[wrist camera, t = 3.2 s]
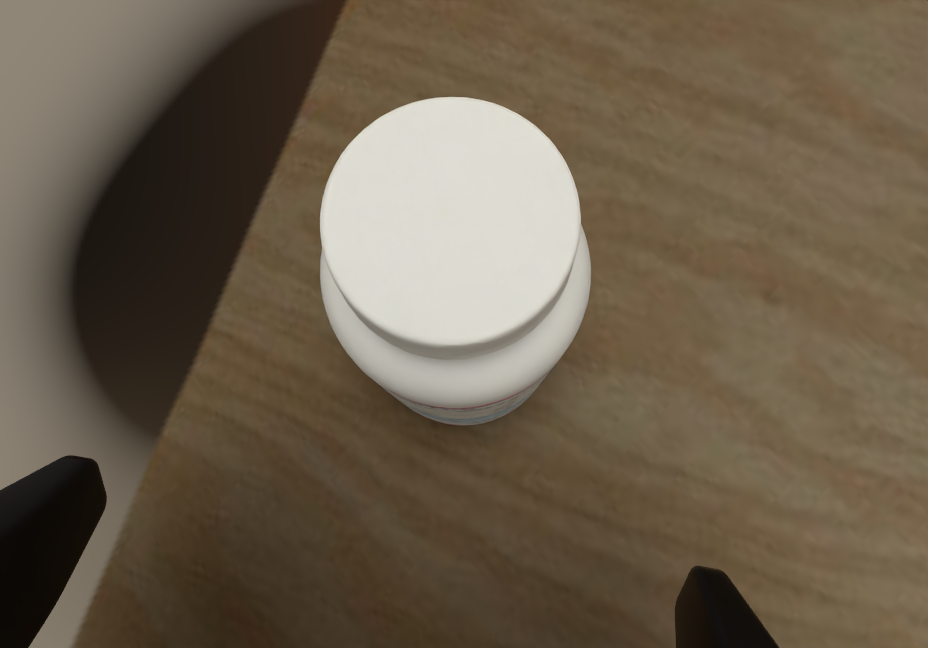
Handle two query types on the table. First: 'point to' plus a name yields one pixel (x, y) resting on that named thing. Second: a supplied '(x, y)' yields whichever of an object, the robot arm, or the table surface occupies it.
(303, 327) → the table surface
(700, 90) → the table surface
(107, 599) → the table surface
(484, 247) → the pill bottle
